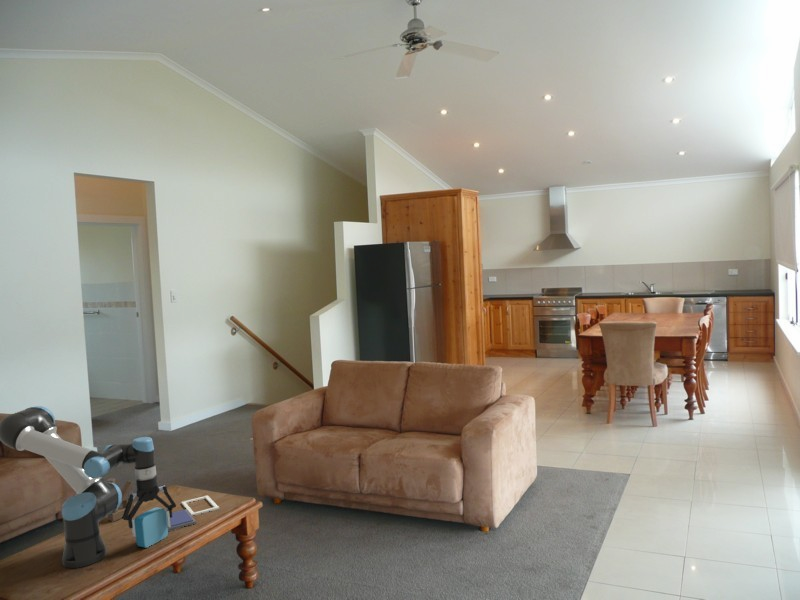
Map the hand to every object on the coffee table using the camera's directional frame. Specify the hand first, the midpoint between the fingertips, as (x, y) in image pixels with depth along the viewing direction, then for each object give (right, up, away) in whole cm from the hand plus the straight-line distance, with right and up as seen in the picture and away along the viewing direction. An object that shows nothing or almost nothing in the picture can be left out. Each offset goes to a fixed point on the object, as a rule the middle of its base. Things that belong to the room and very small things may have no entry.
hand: (151, 530), depth 252 cm
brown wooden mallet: (-25, -5, +30) cm, 39 cm away
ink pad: (+2, -3, +19) cm, 19 cm away
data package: (0, -5, 0) cm, 5 cm away
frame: (+8, -2, +35) cm, 36 cm away
